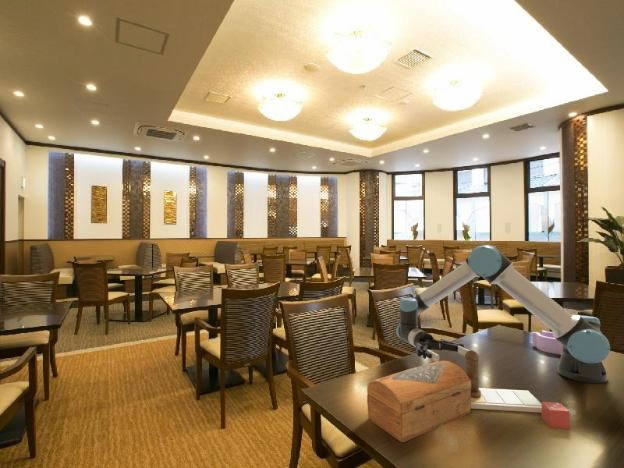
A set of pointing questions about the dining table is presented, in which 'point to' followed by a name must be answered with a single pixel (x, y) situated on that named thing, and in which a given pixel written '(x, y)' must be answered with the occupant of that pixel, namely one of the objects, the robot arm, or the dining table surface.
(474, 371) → the pawn
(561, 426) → the die
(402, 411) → the wooden box
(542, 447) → the dining table surface
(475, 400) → the board
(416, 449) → the dining table surface
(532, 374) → the dining table surface
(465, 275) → the robot arm
